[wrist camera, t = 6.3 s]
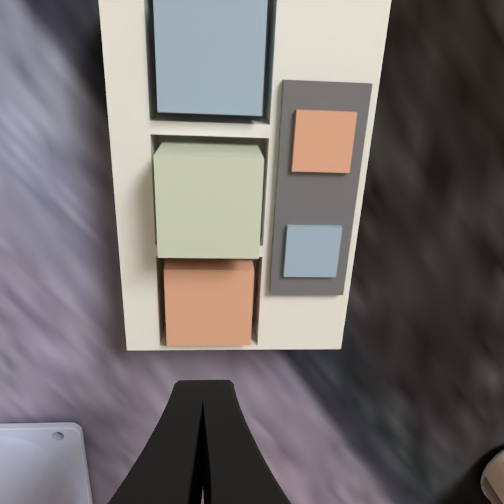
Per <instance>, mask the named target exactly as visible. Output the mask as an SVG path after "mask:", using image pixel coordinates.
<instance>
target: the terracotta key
mask: <svg viewBox="0 0 504 504" xmlns="http://www.w3.org/2000/svg"><path fill="white" fill-rule="evenodd" d="M253 287H254V266H253V260H252V259H231V258H167V259H166V263H165V267H164V290H165V316H166V342H167V346H228V345H251V328H252V308H253Z"/></svg>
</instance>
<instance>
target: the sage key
mask: <svg viewBox="0 0 504 504" xmlns="http://www.w3.org/2000/svg"><path fill="white" fill-rule="evenodd" d="M153 159H154V181H155V204H156V227H157V250H158V258H231V259H259V249H260V230H261V211H262V193H263V174H264V157H263V155H262V153H261V151H260V149H259V147H258V144H250V143H218V142H185V141H163V142H162V143H161V145H160V147H159V148H158V150H157V151H156V153H155V154H154V156H153Z"/></svg>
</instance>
